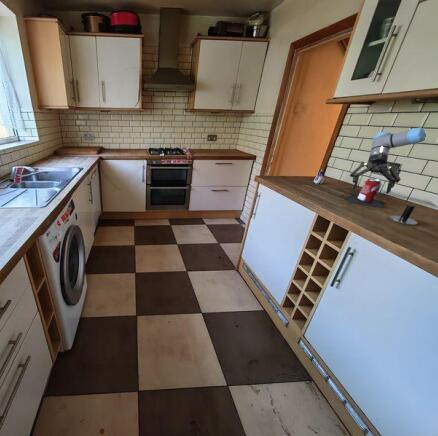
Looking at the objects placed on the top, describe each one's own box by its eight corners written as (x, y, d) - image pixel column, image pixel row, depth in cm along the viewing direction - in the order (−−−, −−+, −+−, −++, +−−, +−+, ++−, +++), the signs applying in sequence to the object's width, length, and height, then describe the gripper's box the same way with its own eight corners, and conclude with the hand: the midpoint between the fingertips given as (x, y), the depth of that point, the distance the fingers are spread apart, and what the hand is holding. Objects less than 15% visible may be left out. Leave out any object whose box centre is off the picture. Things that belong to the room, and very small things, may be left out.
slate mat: (378, 201, 127) (379, 200, 127) (383, 208, 118) (384, 207, 118) (347, 196, 134) (347, 195, 134) (349, 202, 125) (349, 201, 125)
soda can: (361, 202, 124) (371, 181, 119) (354, 198, 130) (363, 177, 124) (375, 203, 122) (386, 182, 117) (368, 199, 128) (377, 178, 123)
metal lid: (413, 220, 105) (422, 204, 102) (419, 227, 99) (429, 211, 95) (387, 215, 110) (395, 200, 107) (391, 222, 103) (400, 206, 100)
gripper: (405, 164, 124) (399, 197, 119) (347, 158, 136) (339, 188, 131) (413, 155, 117) (407, 190, 113) (352, 150, 130) (344, 182, 125)
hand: (371, 189), depth 122 cm, fingers open, 13 cm apart
